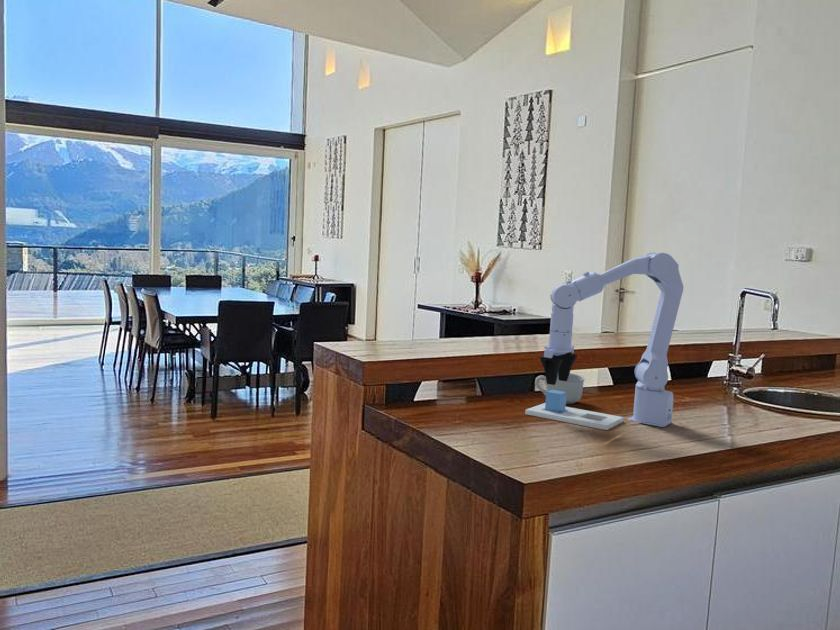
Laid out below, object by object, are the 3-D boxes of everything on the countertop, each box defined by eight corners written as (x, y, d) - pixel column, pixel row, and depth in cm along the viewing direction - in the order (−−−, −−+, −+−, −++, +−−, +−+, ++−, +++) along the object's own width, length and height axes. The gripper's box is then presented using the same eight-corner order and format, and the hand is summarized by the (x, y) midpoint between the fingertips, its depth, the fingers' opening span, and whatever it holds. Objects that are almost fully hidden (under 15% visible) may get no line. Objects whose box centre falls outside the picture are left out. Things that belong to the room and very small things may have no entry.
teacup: (579, 400, 210) (581, 373, 209) (584, 408, 199) (586, 380, 199) (532, 396, 211) (534, 370, 211) (534, 404, 201) (536, 376, 200)
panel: (623, 423, 183) (623, 417, 183) (606, 431, 174) (607, 425, 173) (544, 408, 196) (545, 402, 196) (525, 415, 186) (525, 409, 186)
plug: (565, 414, 188) (566, 392, 188) (558, 416, 185) (560, 394, 184) (551, 411, 190) (552, 389, 190) (544, 414, 187) (546, 391, 187)
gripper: (558, 327, 194) (554, 376, 195) (534, 331, 182) (531, 383, 183) (582, 330, 190) (578, 380, 191) (560, 334, 178) (556, 387, 179)
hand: (557, 382), depth 187 cm, fingers open, 7 cm apart
